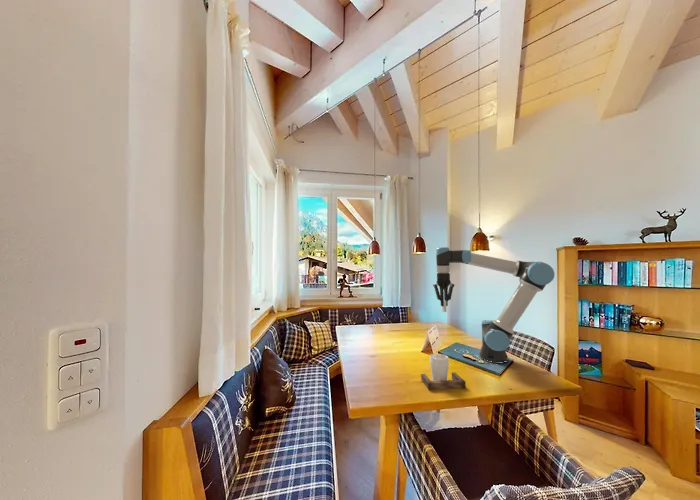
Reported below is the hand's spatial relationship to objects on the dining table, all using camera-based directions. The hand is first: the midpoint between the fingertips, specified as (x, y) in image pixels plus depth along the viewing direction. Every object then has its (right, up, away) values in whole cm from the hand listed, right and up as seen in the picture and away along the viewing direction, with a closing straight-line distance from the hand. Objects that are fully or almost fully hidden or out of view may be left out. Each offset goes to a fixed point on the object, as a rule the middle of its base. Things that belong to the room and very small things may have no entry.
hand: (444, 311), depth 155 cm
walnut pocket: (-12, -28, -30) cm, 43 cm away
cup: (-12, -29, -26) cm, 41 cm away
